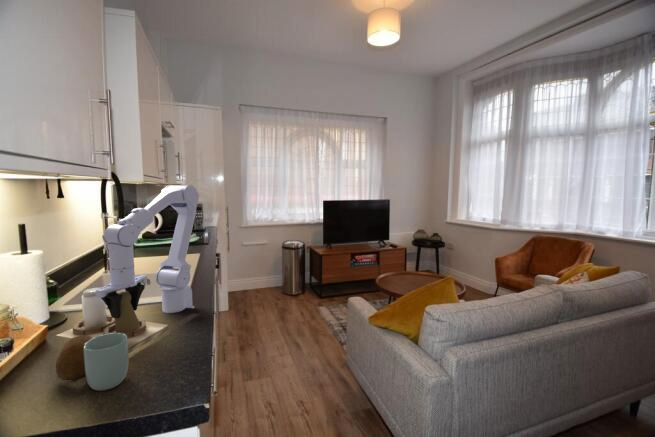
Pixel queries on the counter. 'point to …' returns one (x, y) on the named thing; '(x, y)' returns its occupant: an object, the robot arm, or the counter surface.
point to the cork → (126, 315)
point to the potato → (72, 358)
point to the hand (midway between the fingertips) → (124, 313)
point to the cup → (106, 360)
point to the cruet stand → (133, 336)
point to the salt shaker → (93, 309)
